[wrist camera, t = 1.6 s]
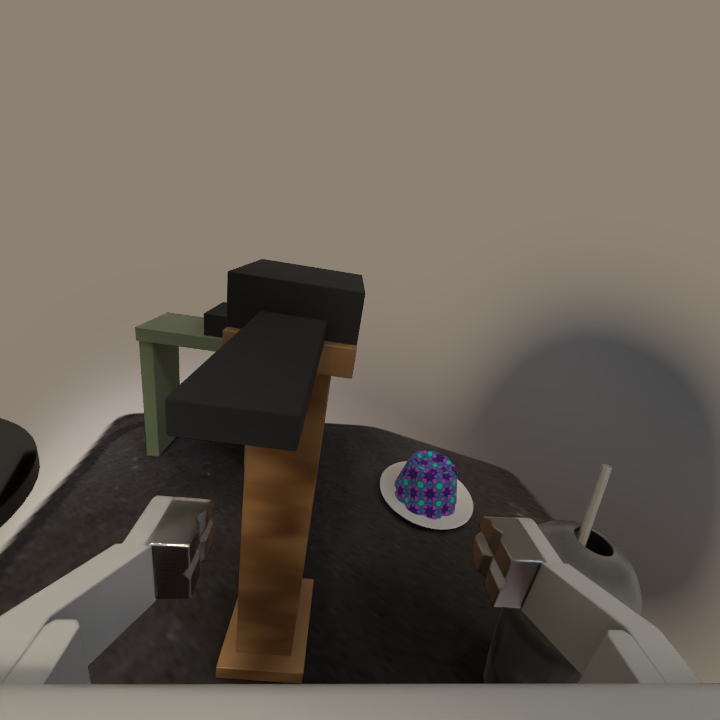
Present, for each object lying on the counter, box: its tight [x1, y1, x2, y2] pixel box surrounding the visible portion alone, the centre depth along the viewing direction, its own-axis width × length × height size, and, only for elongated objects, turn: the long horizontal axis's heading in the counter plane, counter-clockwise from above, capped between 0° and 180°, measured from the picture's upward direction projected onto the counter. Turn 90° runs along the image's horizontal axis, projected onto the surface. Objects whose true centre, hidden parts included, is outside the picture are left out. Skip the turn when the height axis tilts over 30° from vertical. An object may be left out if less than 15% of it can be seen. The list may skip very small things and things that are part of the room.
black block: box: [204, 302, 227, 338], centre depth 41 cm, size 6×6×2 cm
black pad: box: [165, 259, 365, 451], centre depth 14 cm, size 6×14×2 cm, turn 1°
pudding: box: [380, 450, 473, 530], centre depth 44 cm, size 12×12×5 cm
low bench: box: [135, 312, 246, 467], centre depth 44 cm, size 14×7×17 cm, turn 91°
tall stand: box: [216, 327, 357, 684], centre depth 23 cm, size 6×7×26 cm
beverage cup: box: [483, 464, 642, 684], centre depth 23 cm, size 7×7×20 cm
